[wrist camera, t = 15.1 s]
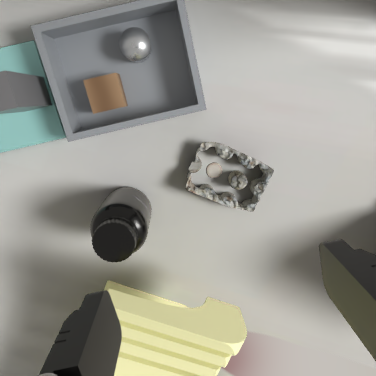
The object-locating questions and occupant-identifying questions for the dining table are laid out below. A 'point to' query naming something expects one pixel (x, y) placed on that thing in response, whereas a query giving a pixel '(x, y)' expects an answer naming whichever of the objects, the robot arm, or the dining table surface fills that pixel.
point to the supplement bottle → (121, 224)
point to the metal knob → (135, 44)
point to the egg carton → (229, 177)
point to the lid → (26, 99)
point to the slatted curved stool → (174, 334)
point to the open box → (121, 65)
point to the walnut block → (105, 92)
